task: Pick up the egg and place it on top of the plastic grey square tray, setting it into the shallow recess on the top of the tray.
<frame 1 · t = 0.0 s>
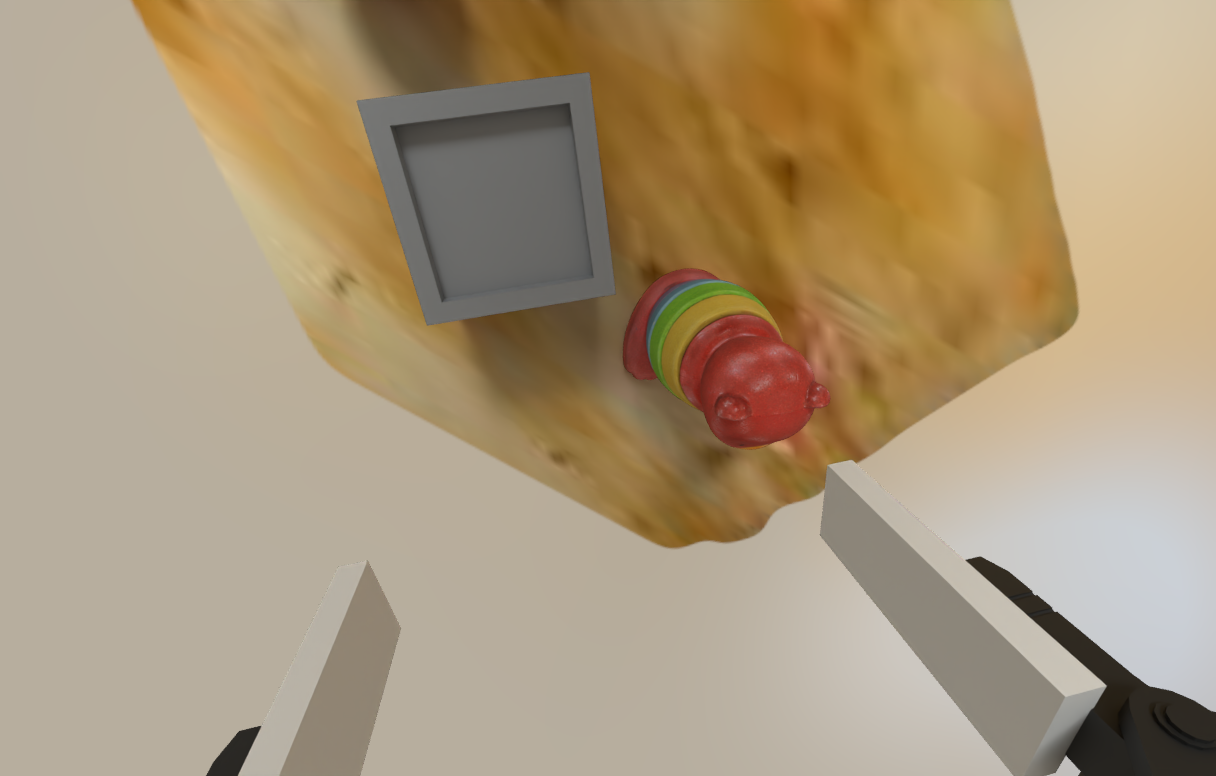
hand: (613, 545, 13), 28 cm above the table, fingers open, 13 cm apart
stacking bear: (682, 322, 41), on the table
grey square tray: (507, 200, 34), on the table
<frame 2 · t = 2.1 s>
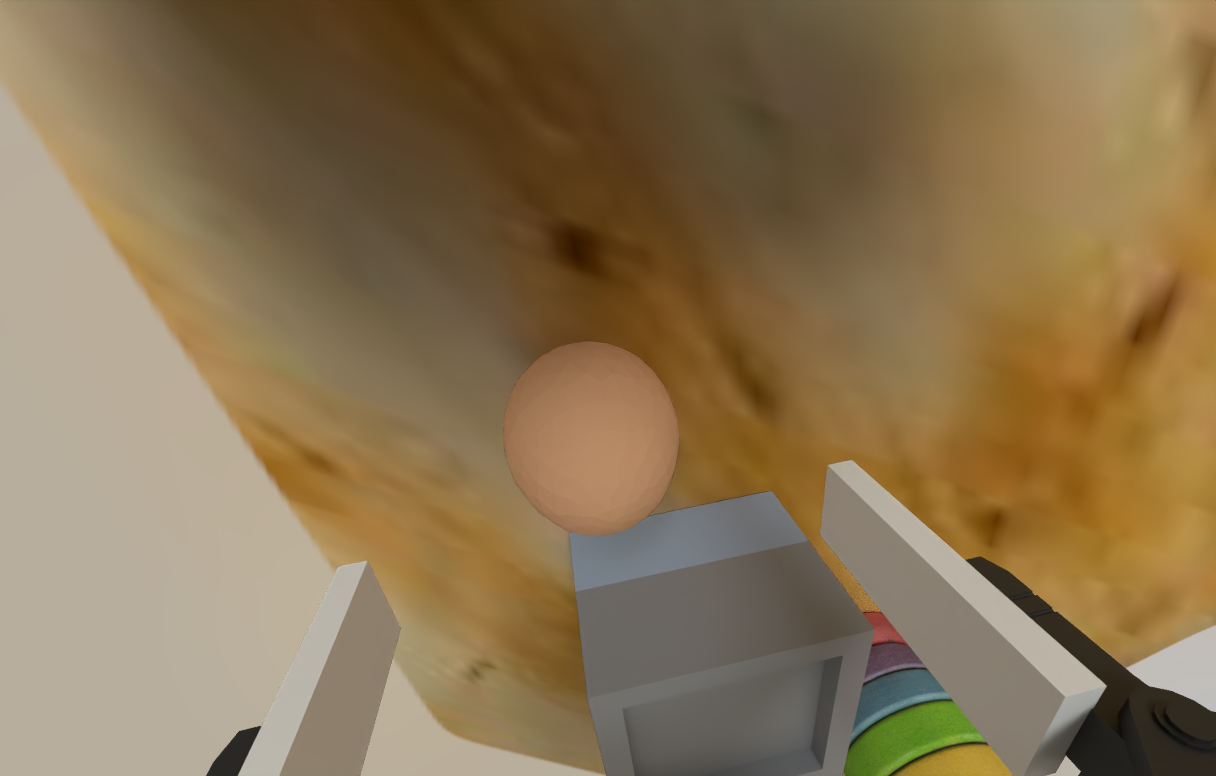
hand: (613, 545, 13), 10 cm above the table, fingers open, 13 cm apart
stacking bear: (845, 650, 36), on the table
egg: (579, 382, 22), on the table
grey square tray: (677, 583, 29), on the table
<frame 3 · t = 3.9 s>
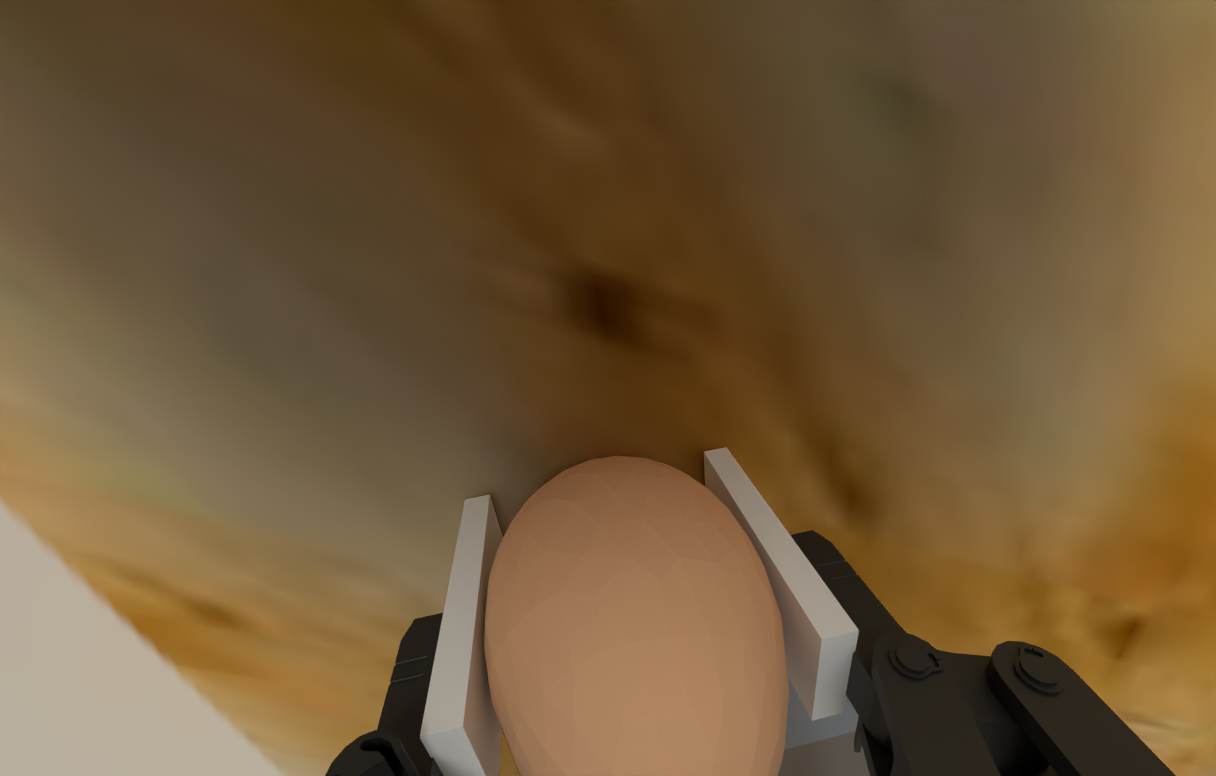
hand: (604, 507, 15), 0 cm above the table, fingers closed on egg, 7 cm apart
egg: (601, 493, 15), on the table, touching gripper
grey square tray: (725, 725, 22), on the table
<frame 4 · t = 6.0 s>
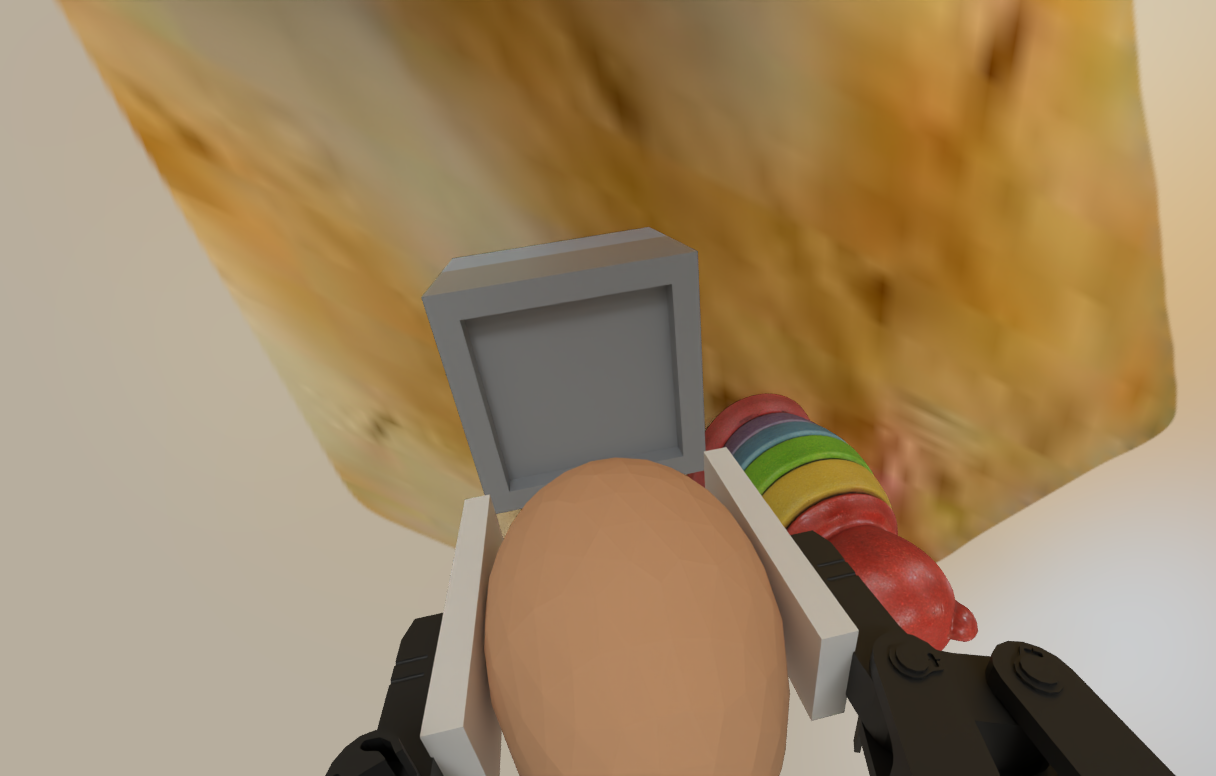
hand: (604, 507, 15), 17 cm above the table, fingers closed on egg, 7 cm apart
stacking bear: (751, 444, 37), on the table
egg: (602, 494, 15), point 17 cm above the table, touching gripper
grey square tray: (569, 335, 30), on the table
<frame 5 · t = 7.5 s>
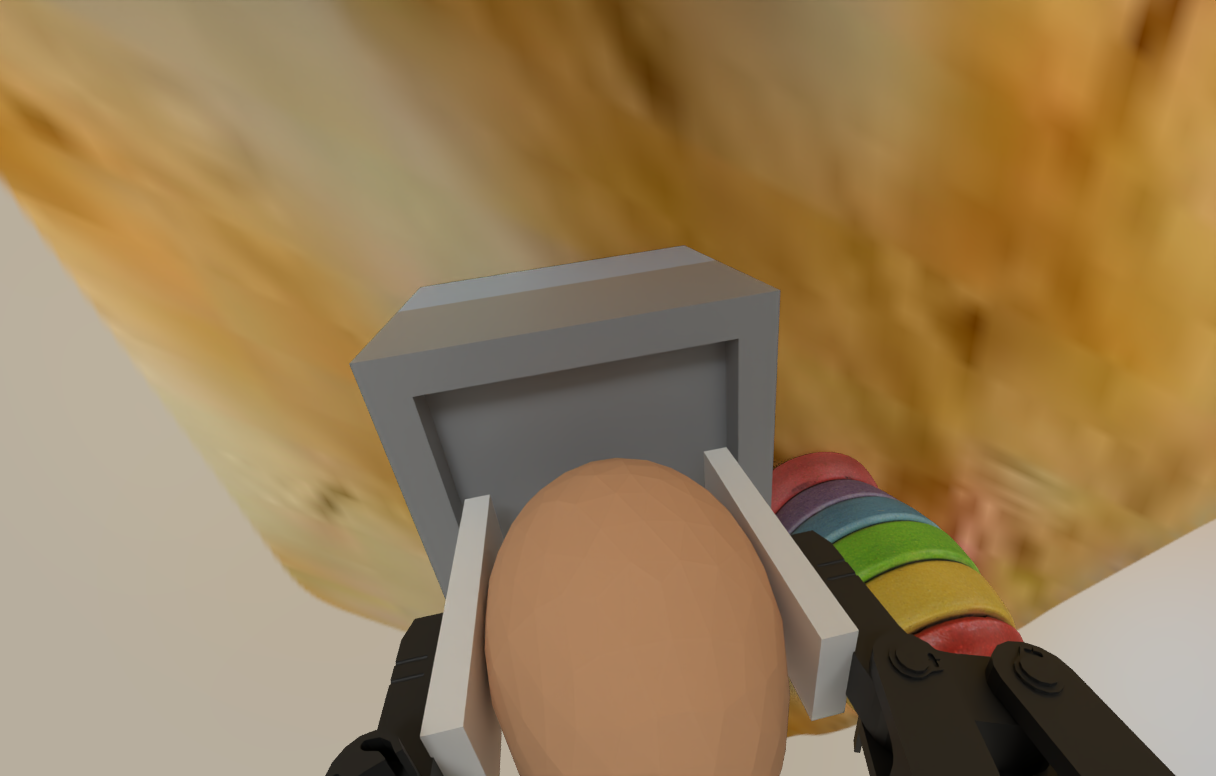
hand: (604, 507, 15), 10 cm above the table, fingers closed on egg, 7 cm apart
stacking bear: (800, 511, 30), on the table
egg: (602, 495, 15), point 9 cm above the table, touching gripper
grey square tray: (576, 384, 23), on the table
when the fingers open (9 cm above the table, at t = 8.2 s): egg drops 1 cm, resting on grey square tray.
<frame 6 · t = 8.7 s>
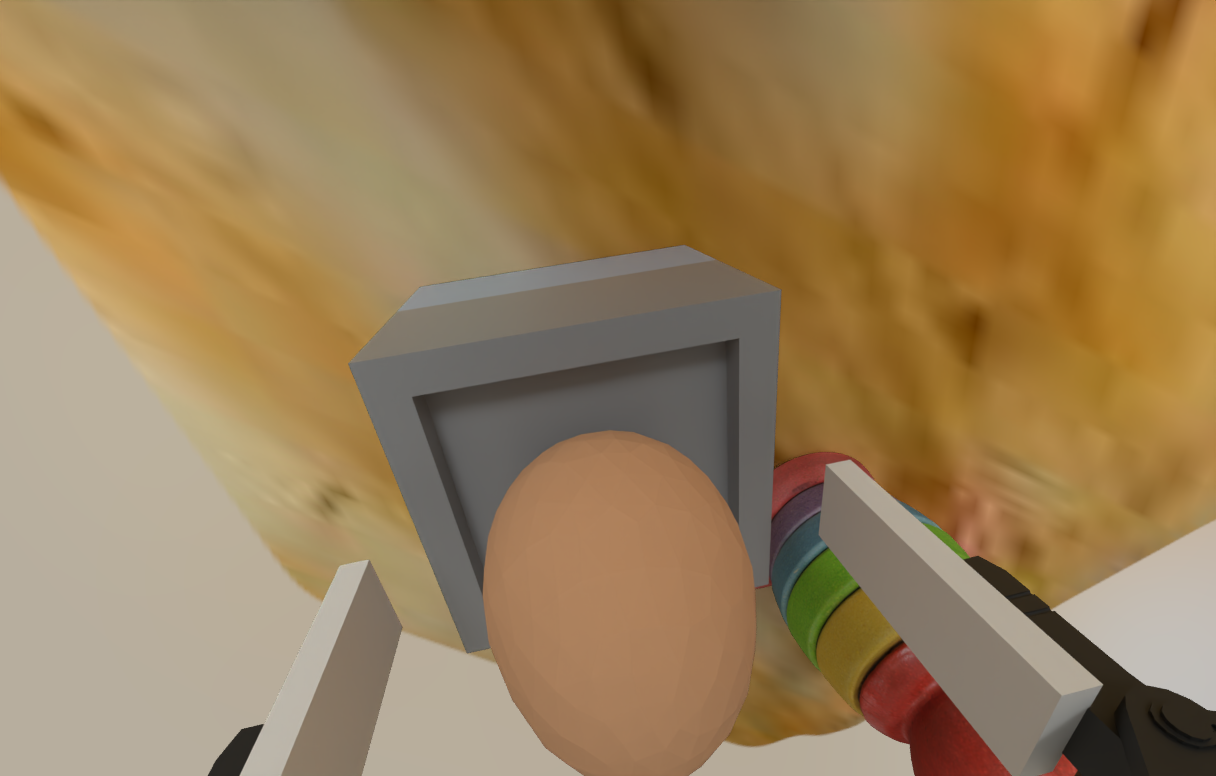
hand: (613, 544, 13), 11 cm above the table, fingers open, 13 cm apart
stacking bear: (800, 511, 30), on the table
egg: (595, 472, 16), point 8 cm above the table, touching grey square tray
grey square tray: (576, 384, 23), on the table
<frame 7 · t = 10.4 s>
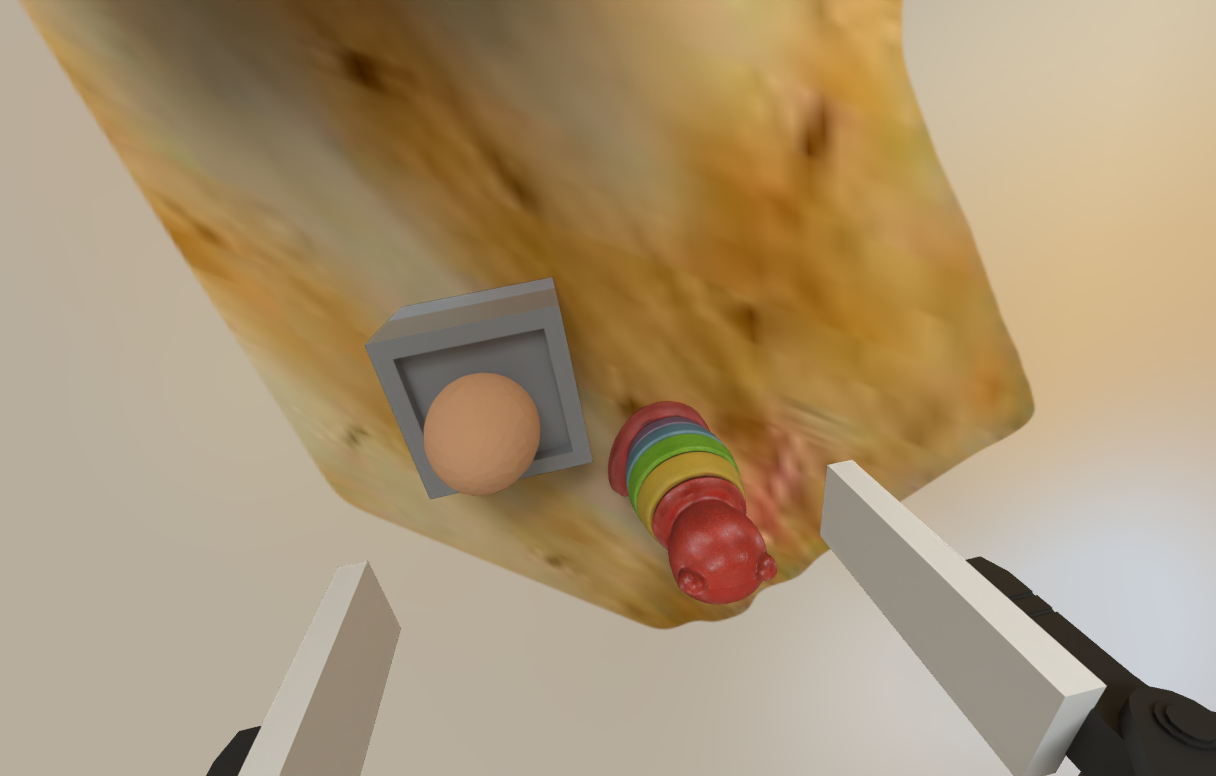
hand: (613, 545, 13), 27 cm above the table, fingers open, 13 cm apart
stacking bear: (661, 443, 45), on the table
egg: (489, 399, 32), point 8 cm above the table, touching grey square tray
grey square tray: (498, 361, 39), on the table
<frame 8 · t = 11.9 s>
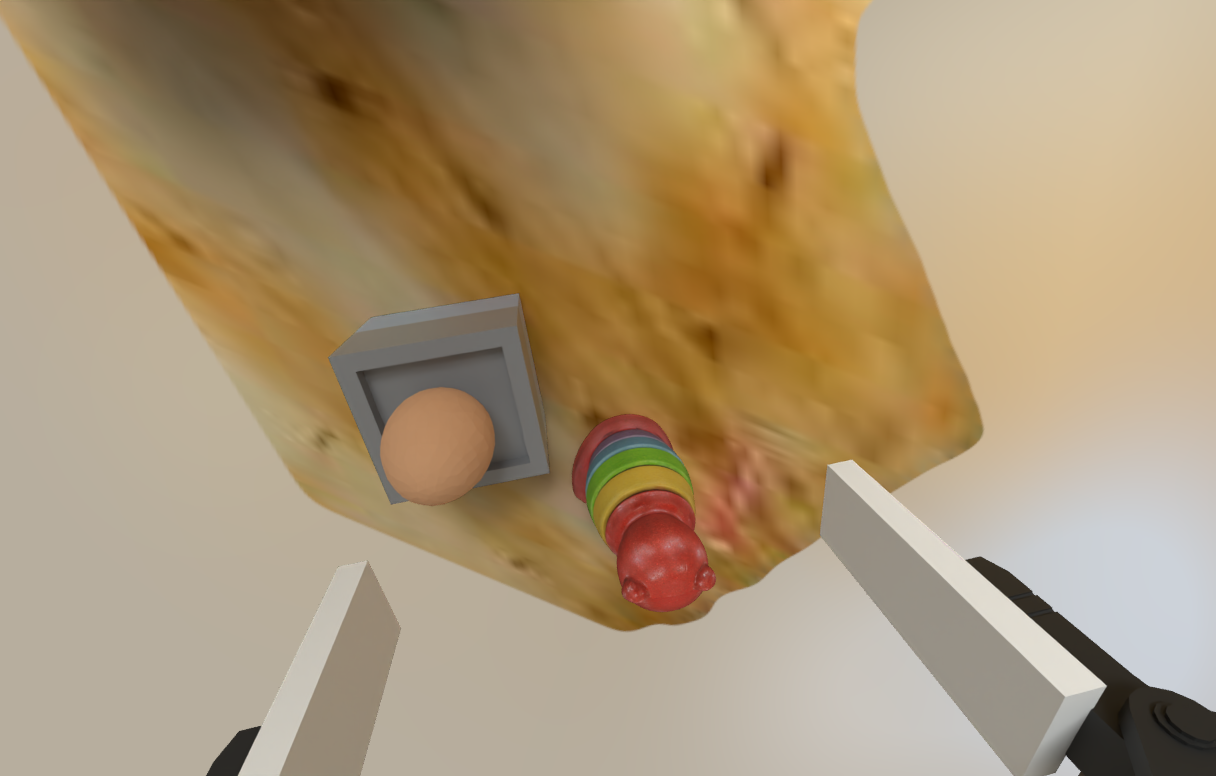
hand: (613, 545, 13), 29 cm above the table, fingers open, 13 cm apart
stacking bear: (624, 453, 47), on the table
egg: (450, 410, 33), point 8 cm above the table, touching grey square tray
grey square tray: (465, 371, 40), on the table
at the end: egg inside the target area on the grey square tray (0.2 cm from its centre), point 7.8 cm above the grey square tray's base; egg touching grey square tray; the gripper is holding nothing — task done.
